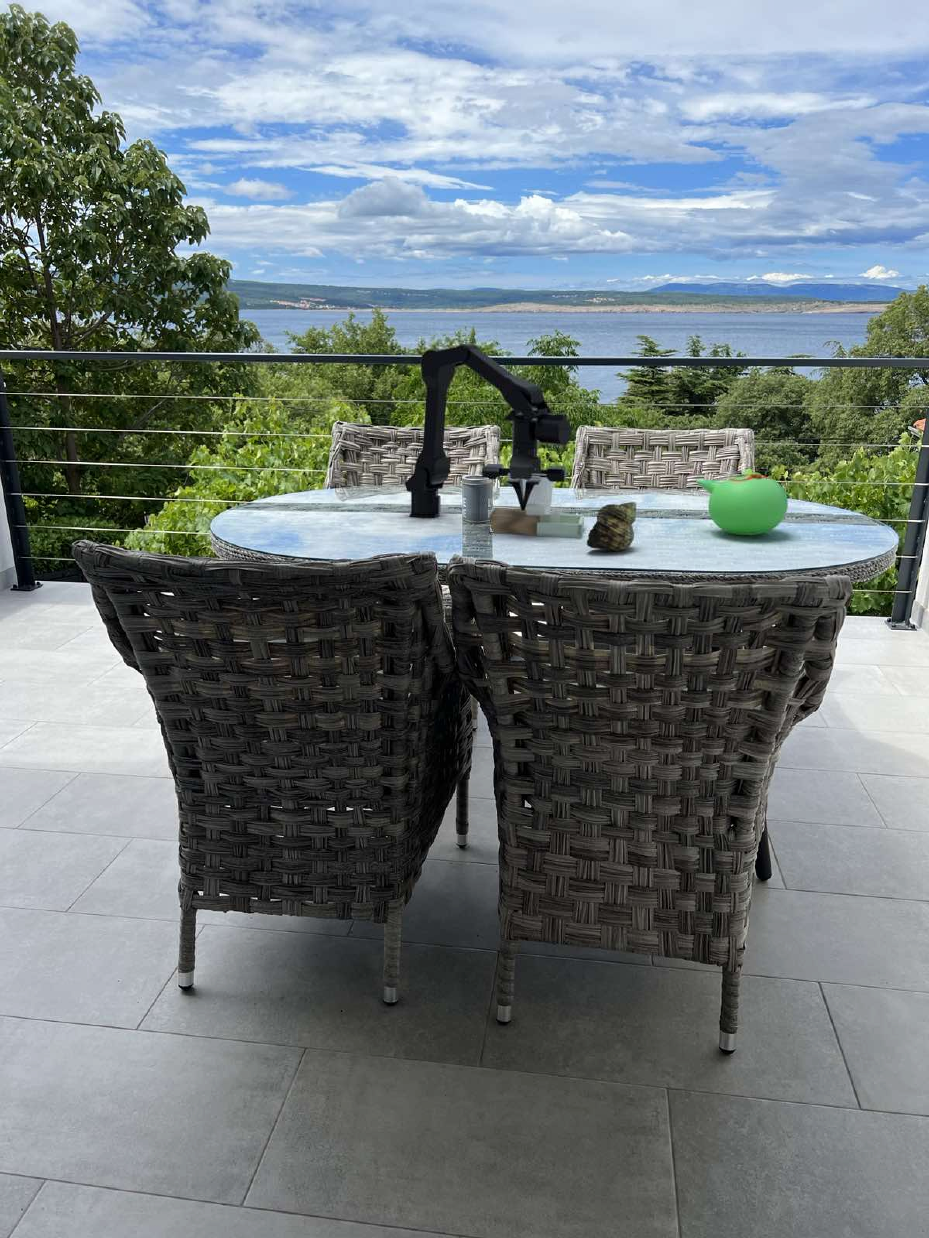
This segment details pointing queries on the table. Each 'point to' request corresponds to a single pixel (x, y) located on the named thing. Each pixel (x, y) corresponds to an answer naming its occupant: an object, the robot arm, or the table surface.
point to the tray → (561, 526)
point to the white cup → (541, 493)
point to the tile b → (555, 516)
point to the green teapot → (746, 503)
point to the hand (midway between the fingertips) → (523, 510)
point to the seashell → (613, 527)
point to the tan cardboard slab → (513, 521)
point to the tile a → (536, 509)
